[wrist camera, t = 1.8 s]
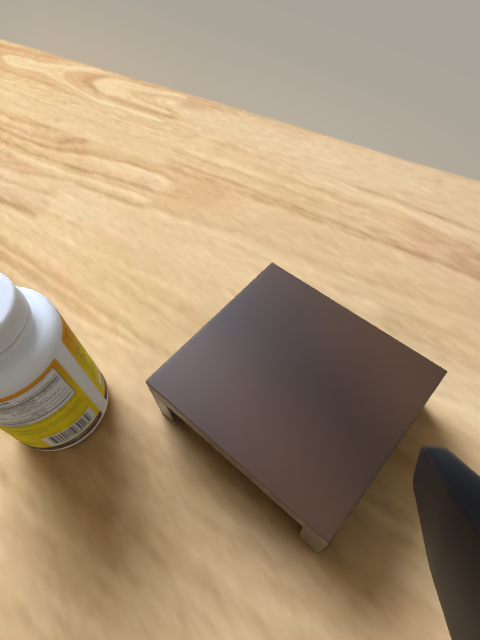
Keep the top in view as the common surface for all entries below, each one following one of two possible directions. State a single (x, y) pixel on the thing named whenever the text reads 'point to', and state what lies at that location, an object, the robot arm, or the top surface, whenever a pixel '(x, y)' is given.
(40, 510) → the top surface
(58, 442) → the supplement bottle
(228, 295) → the top surface
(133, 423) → the top surface
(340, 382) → the walnut shelf
